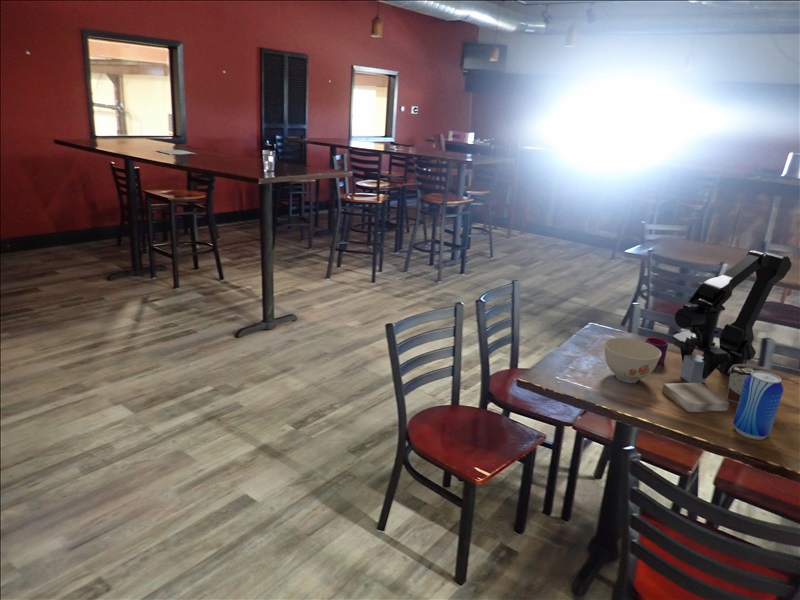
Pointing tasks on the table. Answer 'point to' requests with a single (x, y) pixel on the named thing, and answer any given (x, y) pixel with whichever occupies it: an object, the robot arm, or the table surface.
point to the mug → (659, 347)
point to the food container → (739, 379)
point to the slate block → (692, 369)
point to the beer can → (758, 405)
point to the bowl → (630, 358)
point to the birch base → (695, 397)
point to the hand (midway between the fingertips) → (694, 371)
